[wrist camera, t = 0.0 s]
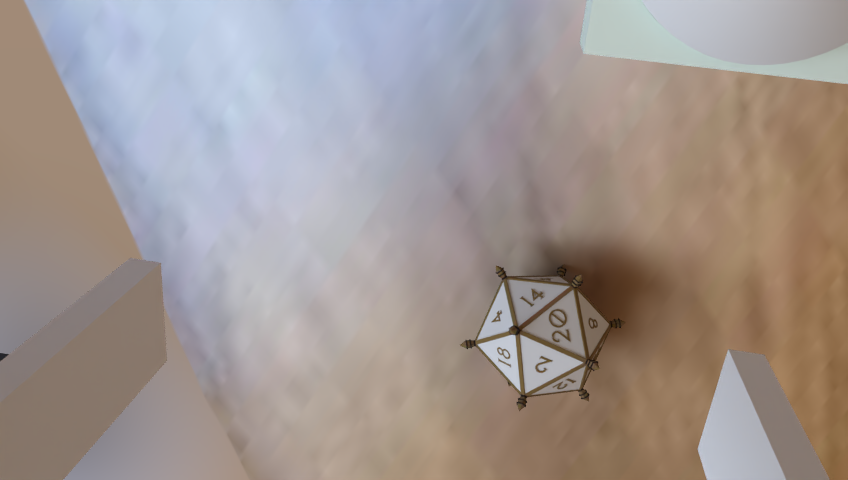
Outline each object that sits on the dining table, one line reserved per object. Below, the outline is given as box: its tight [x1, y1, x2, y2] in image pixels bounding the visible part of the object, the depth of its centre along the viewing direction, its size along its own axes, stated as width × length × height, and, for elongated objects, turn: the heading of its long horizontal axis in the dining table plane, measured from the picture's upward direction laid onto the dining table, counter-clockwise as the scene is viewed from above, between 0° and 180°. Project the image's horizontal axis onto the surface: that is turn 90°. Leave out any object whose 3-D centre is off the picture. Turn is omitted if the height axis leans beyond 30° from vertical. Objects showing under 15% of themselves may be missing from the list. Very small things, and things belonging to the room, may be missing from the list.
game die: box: [460, 265, 626, 411], centre depth 43 cm, size 9×8×10 cm
